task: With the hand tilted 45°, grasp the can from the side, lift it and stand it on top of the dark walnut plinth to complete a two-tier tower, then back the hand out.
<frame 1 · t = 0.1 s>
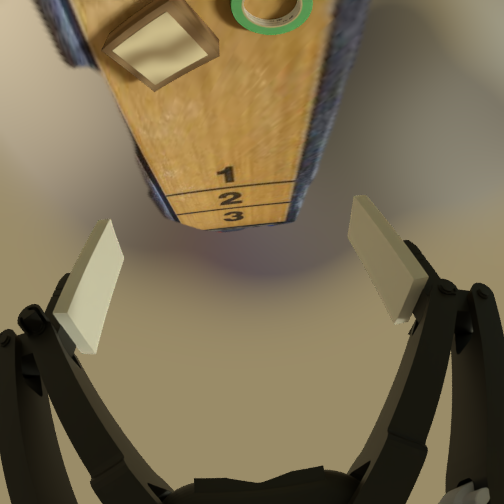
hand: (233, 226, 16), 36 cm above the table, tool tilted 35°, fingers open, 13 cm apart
plinth: (163, 33, 34), on the table
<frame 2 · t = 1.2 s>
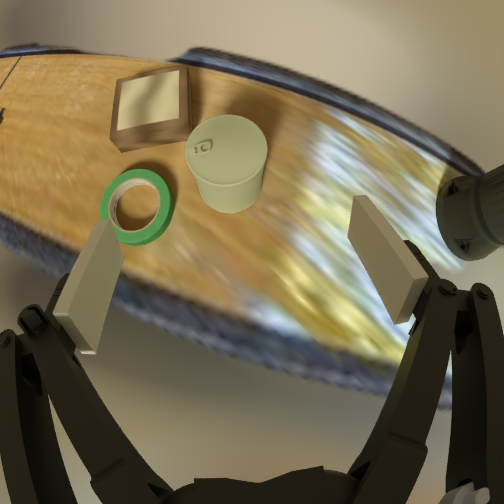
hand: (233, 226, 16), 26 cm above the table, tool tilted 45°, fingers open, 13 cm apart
can: (230, 183, 43), on the table
plinth: (156, 115, 44), on the table
tape roll: (139, 209, 42), on the table
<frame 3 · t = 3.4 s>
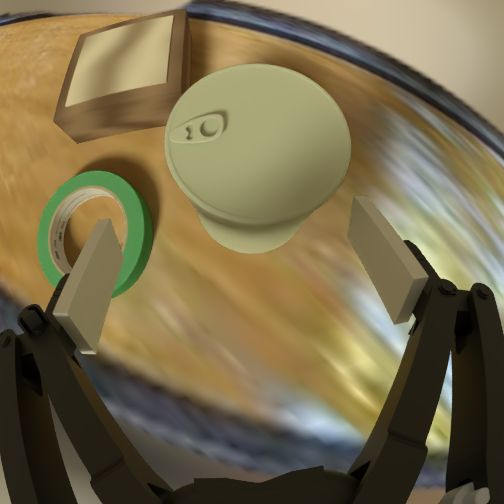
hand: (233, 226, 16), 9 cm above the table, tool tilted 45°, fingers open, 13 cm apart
can: (251, 199, 25), on the table
plinth: (134, 85, 26), on the table
tape roll: (98, 238, 24), on the table
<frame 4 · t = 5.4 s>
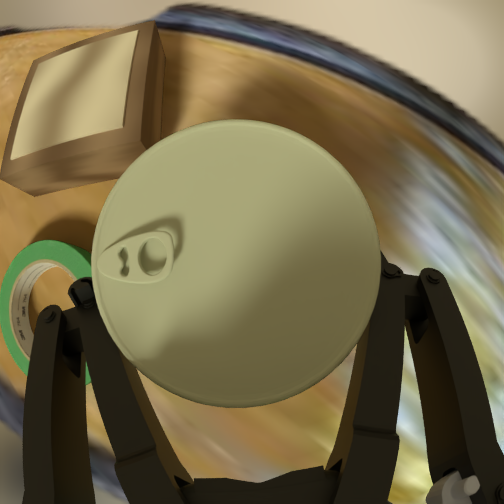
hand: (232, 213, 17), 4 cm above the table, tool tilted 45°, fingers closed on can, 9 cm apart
can: (238, 275, 20), on the table, touching gripper
plinth: (96, 120, 21), on the table
tape roll: (64, 315, 20), on the table
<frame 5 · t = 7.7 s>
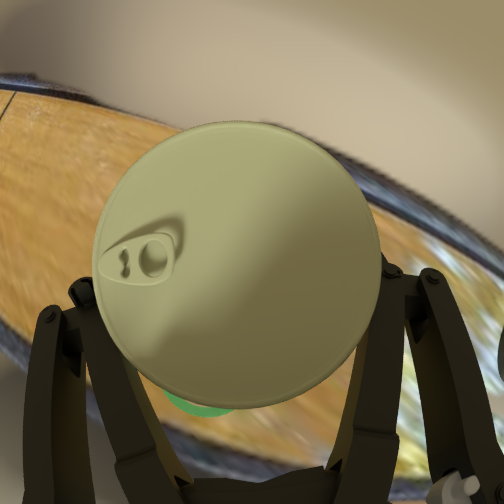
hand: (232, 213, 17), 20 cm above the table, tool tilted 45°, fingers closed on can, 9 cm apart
can: (238, 276, 20), point 16 cm above the table, touching gripper
tape roll: (206, 369, 35), on the table
when the fingers open (10 cm above the table, at t = 10.2 s): can drops 1 cm, resting on plinth.
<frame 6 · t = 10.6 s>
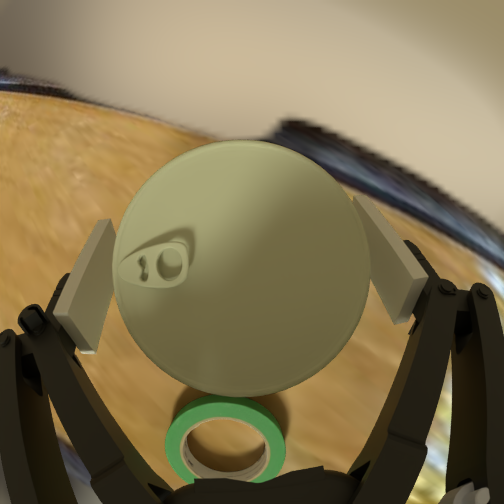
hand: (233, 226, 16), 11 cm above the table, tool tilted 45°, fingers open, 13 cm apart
can: (241, 277, 21), point 5 cm above the table, touching plinth
tape roll: (225, 440, 25), on the table
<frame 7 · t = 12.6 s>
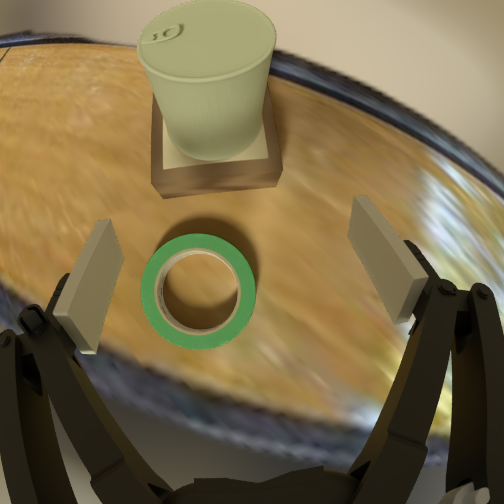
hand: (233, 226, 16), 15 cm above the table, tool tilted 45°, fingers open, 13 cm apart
can: (213, 120, 27), point 5 cm above the table, touching plinth
plinth: (214, 142, 31), on the table
tape roll: (200, 291, 30), on the table
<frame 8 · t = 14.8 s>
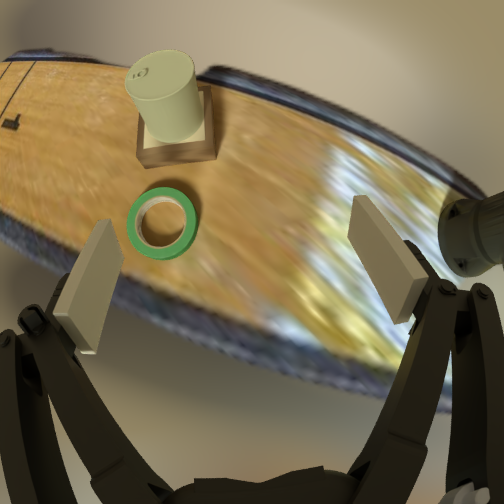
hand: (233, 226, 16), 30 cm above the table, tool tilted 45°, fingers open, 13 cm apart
can: (175, 118, 42), point 5 cm above the table, touching plinth
plinth: (179, 133, 47), on the table
tape roll: (164, 225, 46), on the table
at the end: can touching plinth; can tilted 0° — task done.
